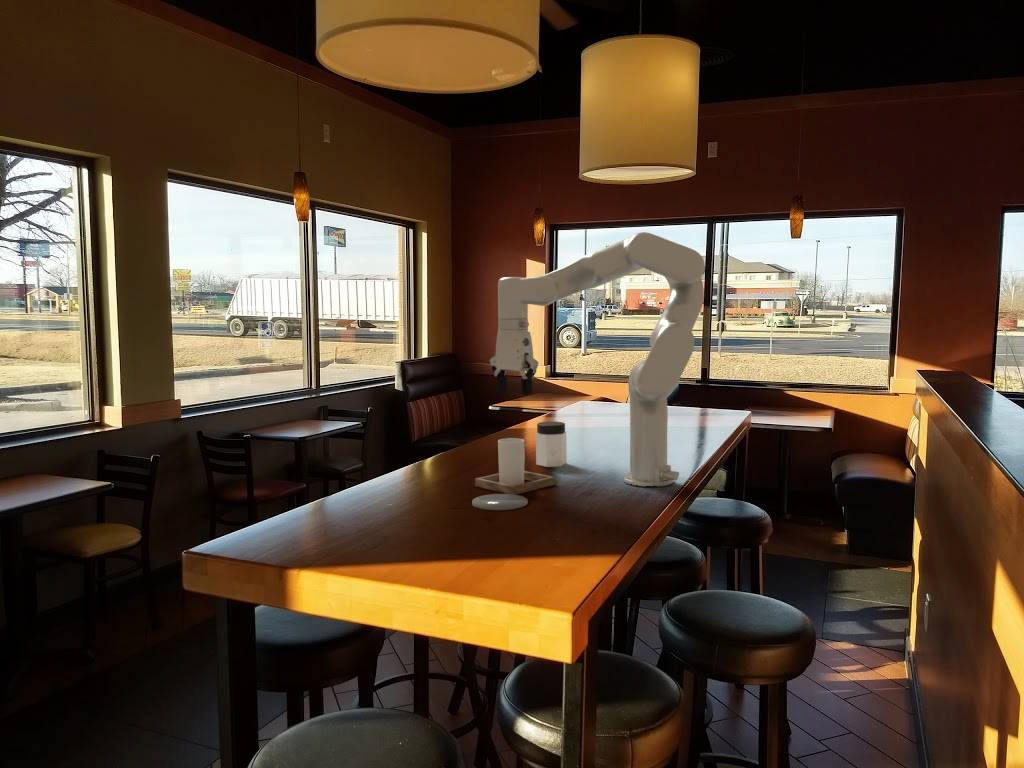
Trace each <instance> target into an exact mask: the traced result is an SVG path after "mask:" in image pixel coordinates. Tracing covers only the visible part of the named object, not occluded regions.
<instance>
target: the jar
mask: <svg viewBox="0 0 1024 768" xmlns="http://www.w3.org/2000/svg"><path fill="white" fill-rule="evenodd" d="M535 455H536V456H535V464H536V465H537V466H540V467H545V468H555V467H557V468H558V467H563V466H564V465H566V464H567V463H568V462H567V459H568V458H567V431H566V423H565V422H564V421H563V422H562V421H553V420H552V421H551V420H549V421H541V422H537V424H536V433H535Z"/></svg>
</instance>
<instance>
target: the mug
mask: <svg viewBox="0 0 1024 768" xmlns="http://www.w3.org/2000/svg"><path fill="white" fill-rule="evenodd" d="M497 447H498V448H497V449H498V453H497V454H498V473H499V481H500V482H499V483H503V484H508V485H512V486H515V485H519V484H523V483H525V479H524V471H525V461H526V455H525V453H526V451H525V439H523V438H518V437H517V438H516V437H514V438H513V437H507V438H500V439H498V440H497Z"/></svg>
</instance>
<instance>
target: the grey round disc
mask: <svg viewBox="0 0 1024 768" xmlns="http://www.w3.org/2000/svg"><path fill="white" fill-rule="evenodd" d="M471 502H472V503H471V505H472V506H473V507H474V508H476V509H480V510H486V511H510V510H512V511H513V510H516V509H517V510H518V509H521V508H523V507H526V506H527V505H528V504H529V503H528V502H529V501H528V498H526V497H525V496H523V495H520V494H516V495H513V494H506V493H493V494H491V493H490V494H484V495H480V496H476V497H475V498H473V499H472V501H471Z"/></svg>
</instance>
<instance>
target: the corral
mask: <svg viewBox="0 0 1024 768" xmlns="http://www.w3.org/2000/svg"><path fill="white" fill-rule="evenodd" d="M555 477H556V476H553V475H547V474H541V473H538V472H537V473H536V472H531V471H527V470H524V481H525V480H526V481H527V482H524V483H523V484H519V485H515V486H512V485H508V484H503V483H500V481H499V472H498V473H494V474H490V475H486V476H480V477H476V478H474V486H475V487H476V488H477V487H478V488H481V489H486V490H490V491H493V492H498V493H501V494H513V495H520V494H525V493H527V492H532V491H535V490H540V489H543V488H547V487H551V486H554V485H556V478H555Z"/></svg>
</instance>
